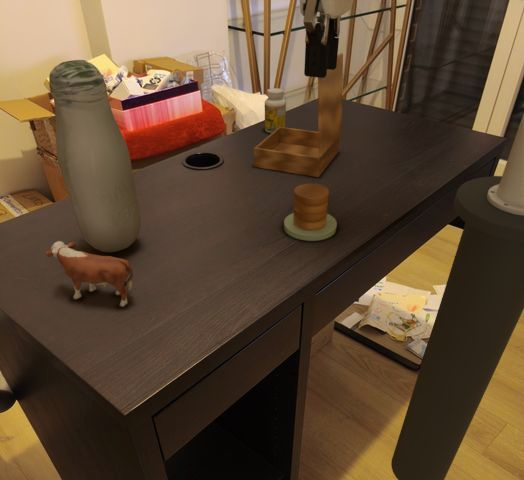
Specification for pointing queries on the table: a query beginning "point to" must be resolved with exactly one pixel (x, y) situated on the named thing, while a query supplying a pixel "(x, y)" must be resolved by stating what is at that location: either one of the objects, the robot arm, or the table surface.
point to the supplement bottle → (274, 110)
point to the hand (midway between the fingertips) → (320, 71)
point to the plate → (310, 234)
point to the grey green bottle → (94, 157)
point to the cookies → (310, 206)
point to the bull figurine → (93, 269)
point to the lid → (330, 106)
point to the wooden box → (294, 152)
